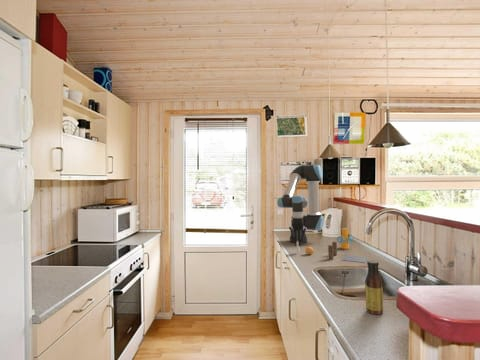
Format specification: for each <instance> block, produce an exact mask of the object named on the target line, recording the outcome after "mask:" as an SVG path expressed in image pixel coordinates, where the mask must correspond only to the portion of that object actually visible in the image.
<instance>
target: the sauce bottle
mask: <svg viewBox="0 0 480 360" xmlns="http://www.w3.org/2000/svg"><path fill="white" fill-rule="evenodd" d="M366 262H367V263H366V264H367V275H366V277H365V281H364V285H365V286H364V288H365V290H364V292H365V308H366V312H368V313H369V314H372V315H382V314H383V312H384V295H383V293H384V292H383V281H382V277H381V275H380V274H379V261H377V260H374V259H373V260H368V261H367V260H366Z"/></svg>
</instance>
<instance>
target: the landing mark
mask: <svg viewBox="0 0 480 360" xmlns="http://www.w3.org/2000/svg"><path fill="white" fill-rule="evenodd" d="M367 260H368V257H367V256H366V257H365V256H355V255H344V257H343V258H342V259H341V261H345V262H353V263H362V264H363V263H365V264H366V262H367Z"/></svg>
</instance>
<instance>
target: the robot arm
mask: <svg viewBox="0 0 480 360" xmlns="http://www.w3.org/2000/svg"><path fill="white" fill-rule="evenodd" d="M323 175H324V174H323V170H322V167H321V166H320V165H319V164H303V165H298V166H297V167H295V168H294V169H293V170H292V171H291V173H290V174H289V180H288V183H287V185H286V188H285V190H284V193H283V195H282V197H279V198H277V201H276V202H277V203H276V204H277V206H278V207H279V208H283V209H284V208H286V209H289V208H290V209H292V210H291V211H292V215H291V217H290V218H291V220H290V221H291V224H290V226H289V227H288V229H289V230H290V235H289V242H290V243H293V244H294V245H295V247H296V252H300V251H301V247H302V244H304V243H308V242H309V241H308V237H307V236H308V235H307V234H306V231H308V230H309V231H321V230H322V229H323V226H324V223H325V222H324V221H325V220H324V216H323V215H322V213H321V212H320V193H319V191H320V188H319V184H320V182H321V180H322V179H323ZM301 180H305V181H306V183H307V193H308V194H307V196H308V199H307V197H303V195H295V192H296V190H297V188H298V184H299V183H300V182H301ZM307 206H308V212H307V213H306V214H305V213H304V209H305V208H306V207H307Z"/></svg>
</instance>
